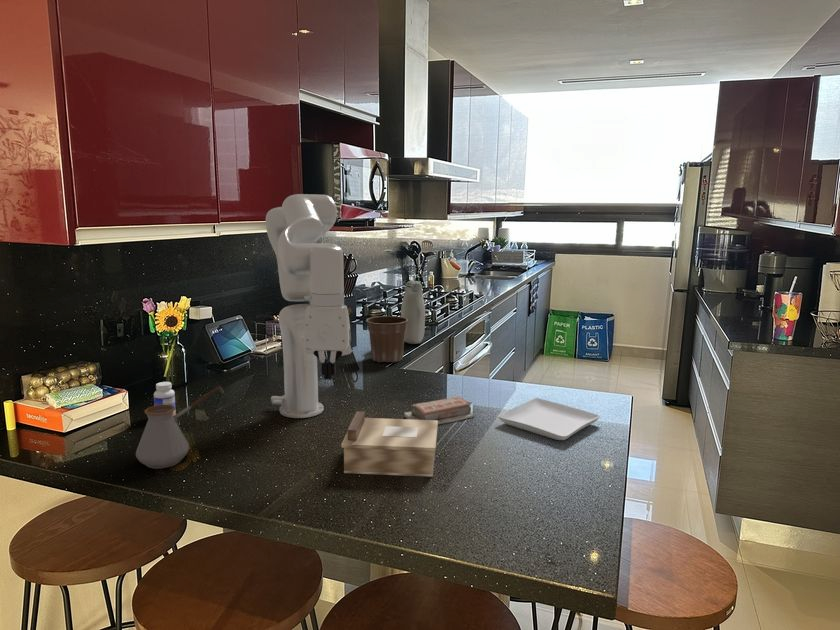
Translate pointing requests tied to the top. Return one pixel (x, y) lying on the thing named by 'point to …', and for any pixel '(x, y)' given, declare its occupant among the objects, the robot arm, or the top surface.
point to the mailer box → (388, 462)
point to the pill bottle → (164, 395)
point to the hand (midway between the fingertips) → (329, 377)
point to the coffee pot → (164, 436)
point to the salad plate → (548, 418)
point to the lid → (391, 434)
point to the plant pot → (387, 337)
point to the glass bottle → (413, 312)
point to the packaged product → (441, 410)
